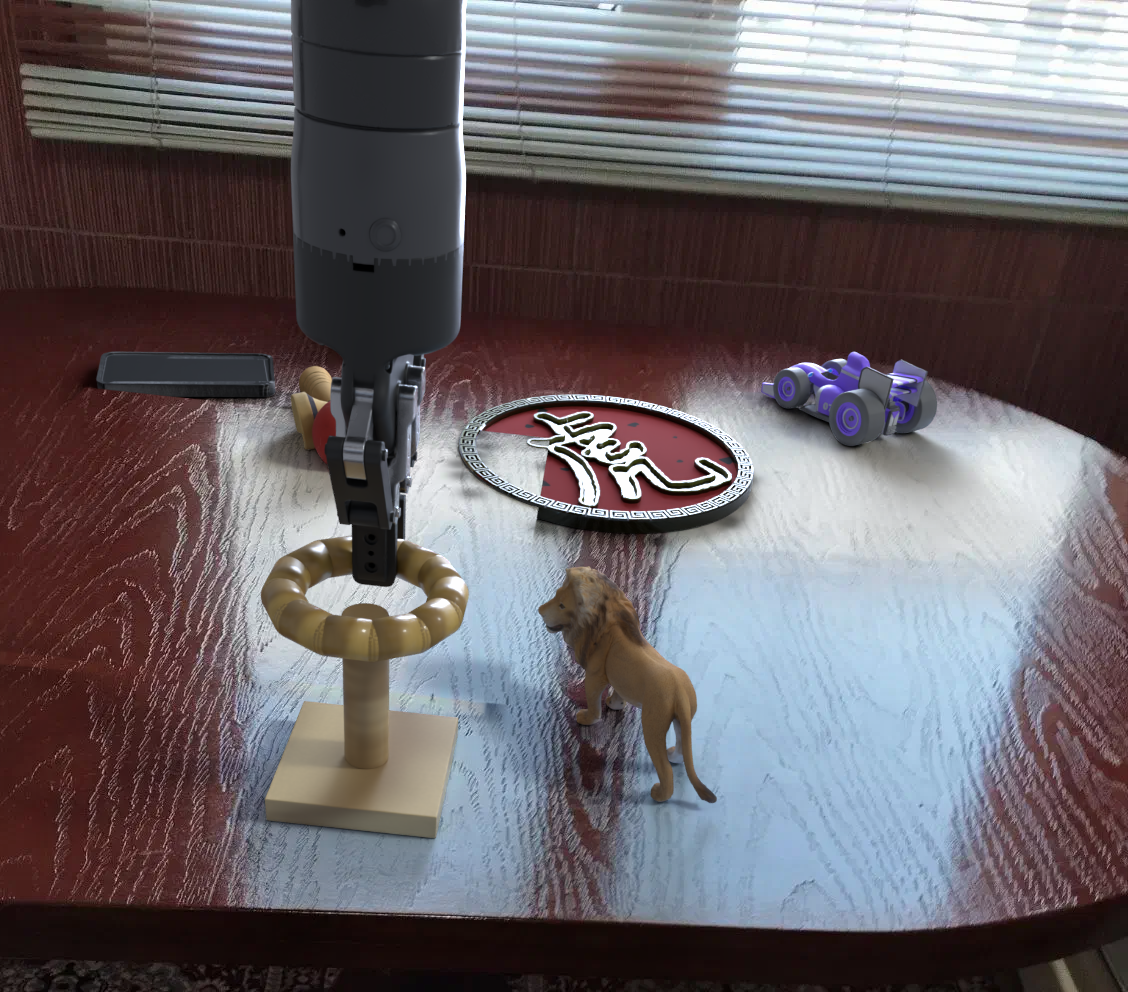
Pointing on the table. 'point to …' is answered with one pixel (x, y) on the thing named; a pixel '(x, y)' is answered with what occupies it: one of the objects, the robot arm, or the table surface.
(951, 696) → the table surface
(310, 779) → the post
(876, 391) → the toy race car
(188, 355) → the phone
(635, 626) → the lion figurine
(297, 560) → the ring
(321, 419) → the kendama
